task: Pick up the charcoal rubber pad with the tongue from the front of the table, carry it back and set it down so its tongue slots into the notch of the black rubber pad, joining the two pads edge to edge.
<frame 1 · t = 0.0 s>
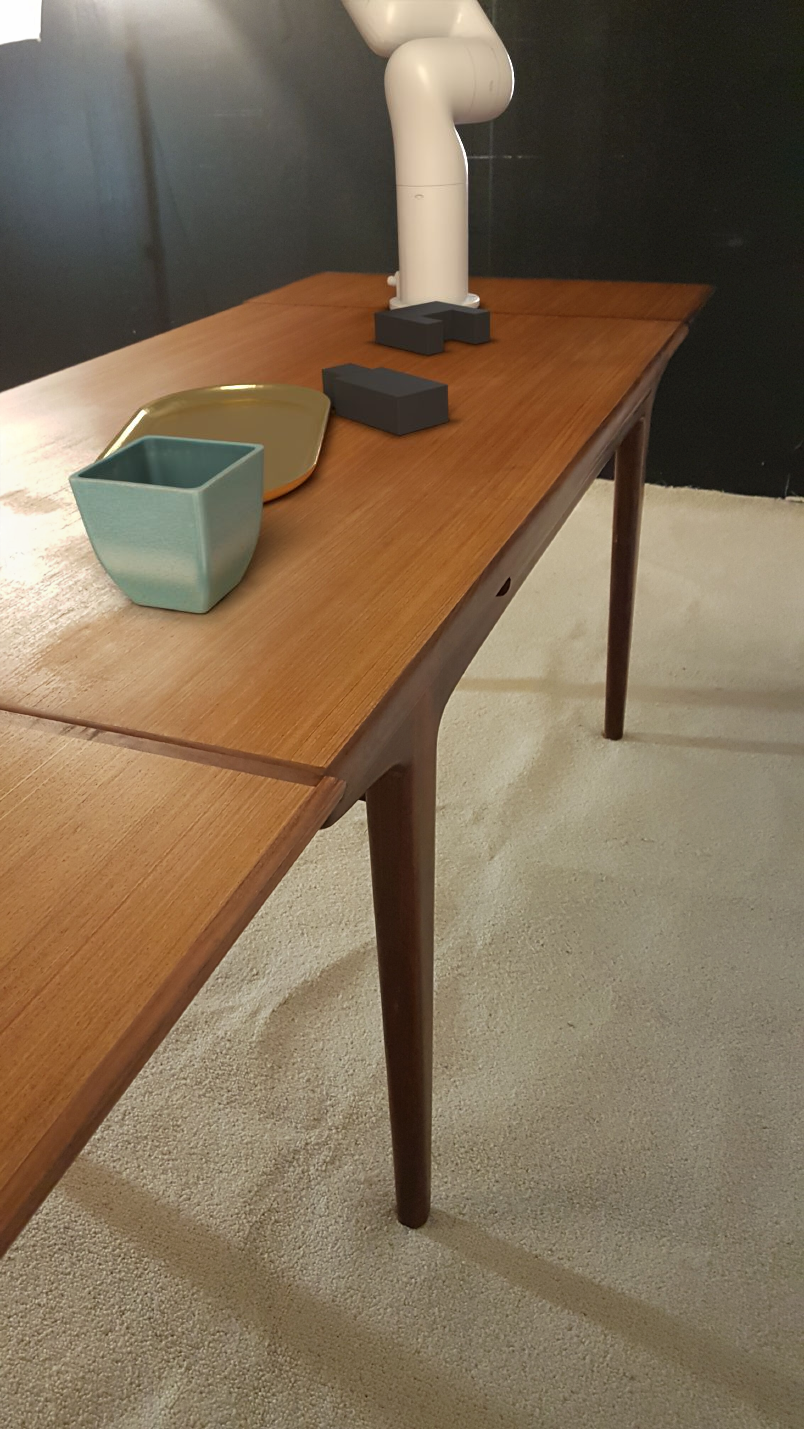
serving platter: (221, 452, 92), on the table
flower pot: (191, 598, 66), on the table
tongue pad: (390, 418, 98), on the table
notch pad: (432, 341, 126), on the table
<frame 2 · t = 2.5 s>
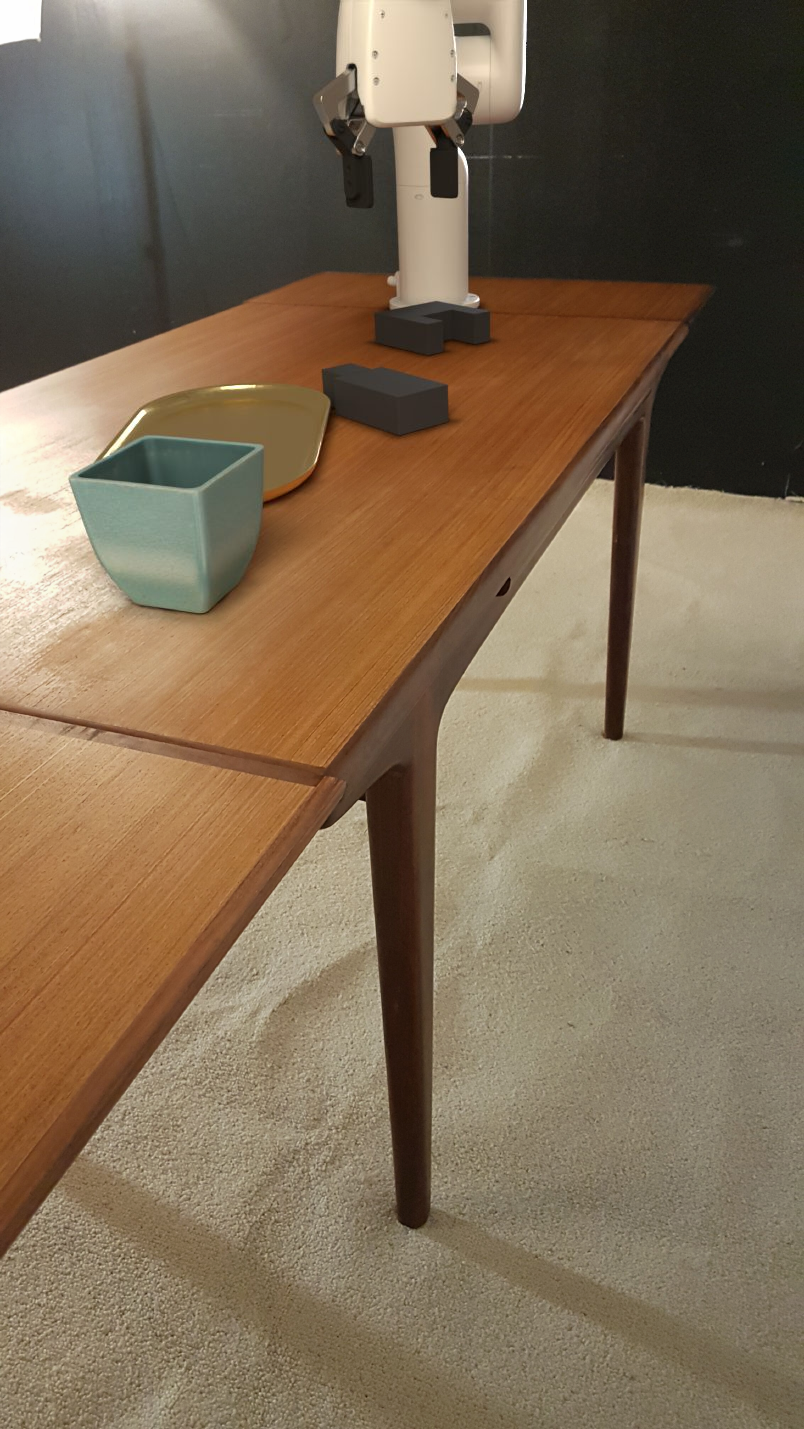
hand: (403, 202, 91), 18 cm above the table, tool pointing down, fingers open, 9 cm apart
nothing on the table moved.
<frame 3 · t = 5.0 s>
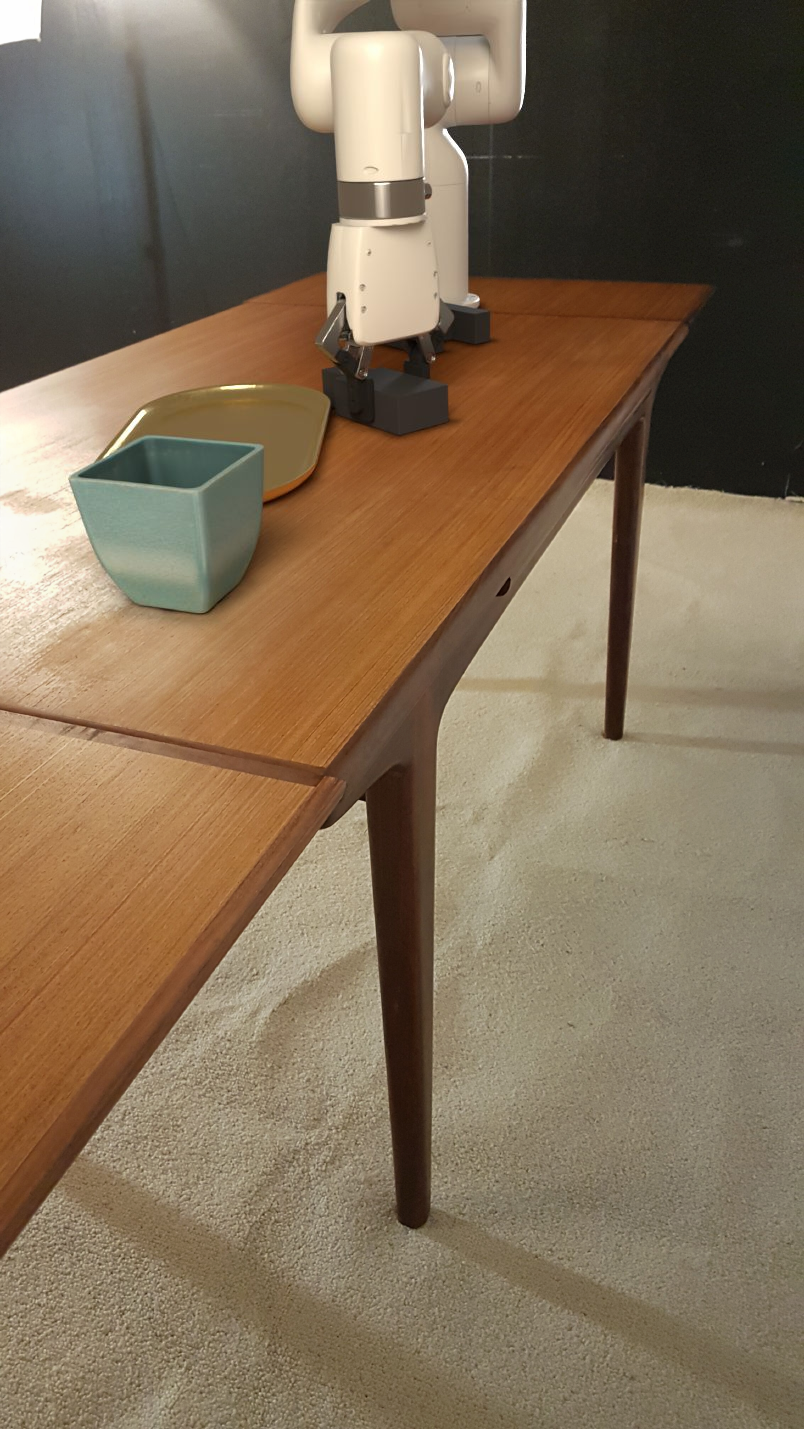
hand: (390, 409, 98), 1 cm above the table, tool pointing down, fingers closed on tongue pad, 6 cm apart
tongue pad: (390, 418, 98), on the table, touching gripper
everything else where it was.
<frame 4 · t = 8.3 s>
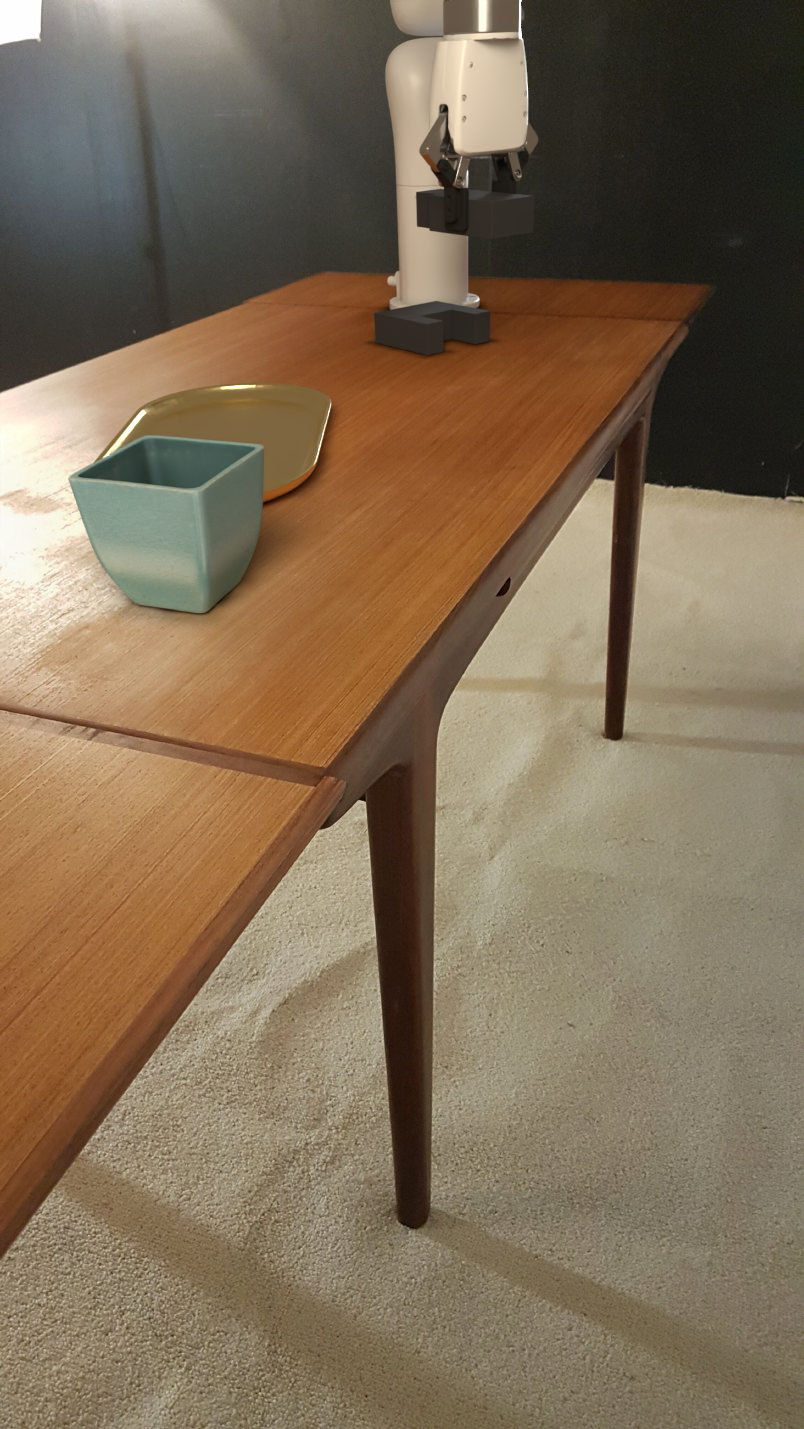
hand: (480, 223, 109), 14 cm above the table, tool pointing down, fingers closed on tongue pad, 6 cm apart
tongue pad: (480, 231, 110), point 13 cm above the table, touching gripper
everything else where it was.
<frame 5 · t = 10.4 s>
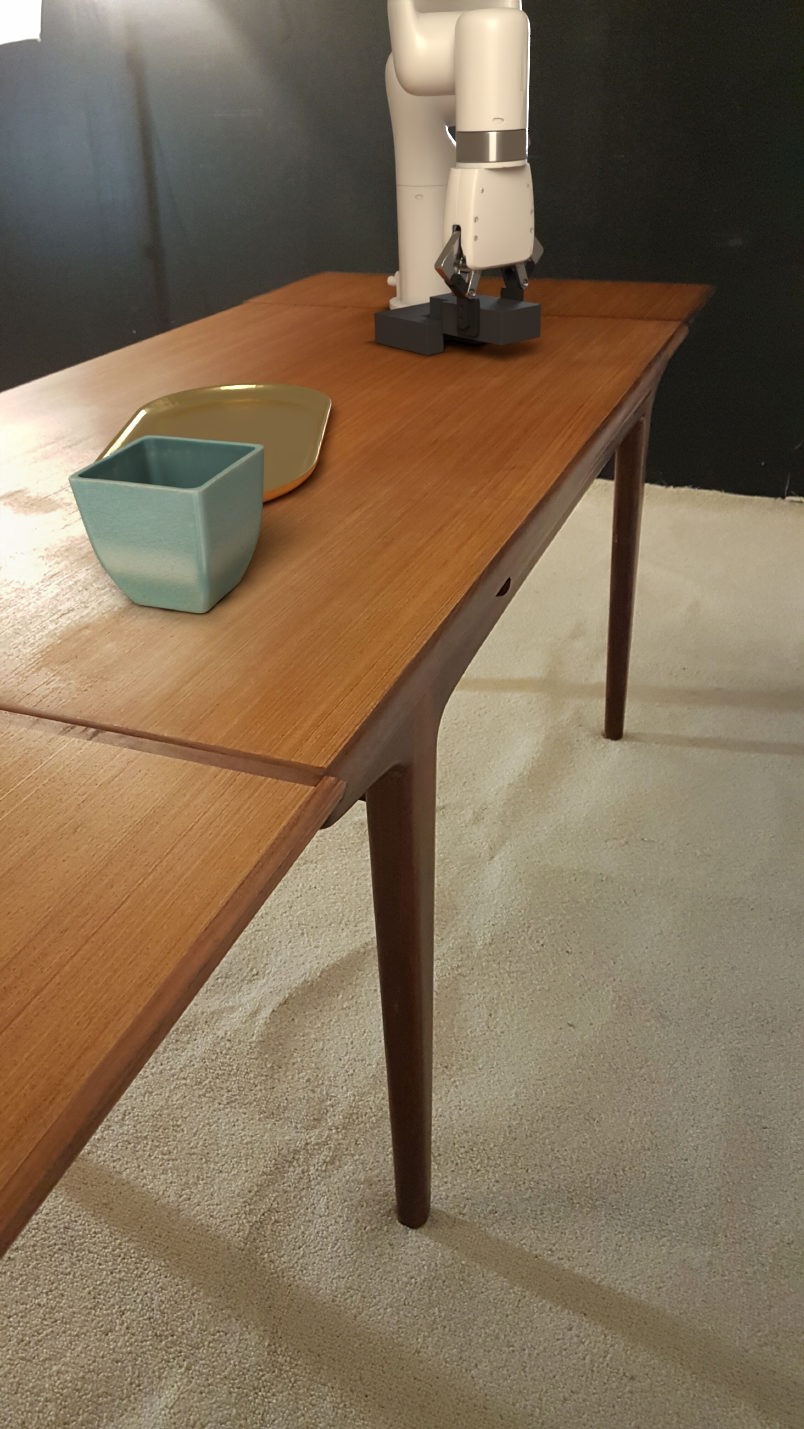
hand: (490, 328, 117), 3 cm above the table, tool pointing down, fingers closed on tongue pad, 6 cm apart
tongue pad: (490, 335, 117), point 2 cm above the table, touching gripper
everything else where it was.
when the fingers open (1 cm above the table, at t = 11.6 s): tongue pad stays where it is, on the table.
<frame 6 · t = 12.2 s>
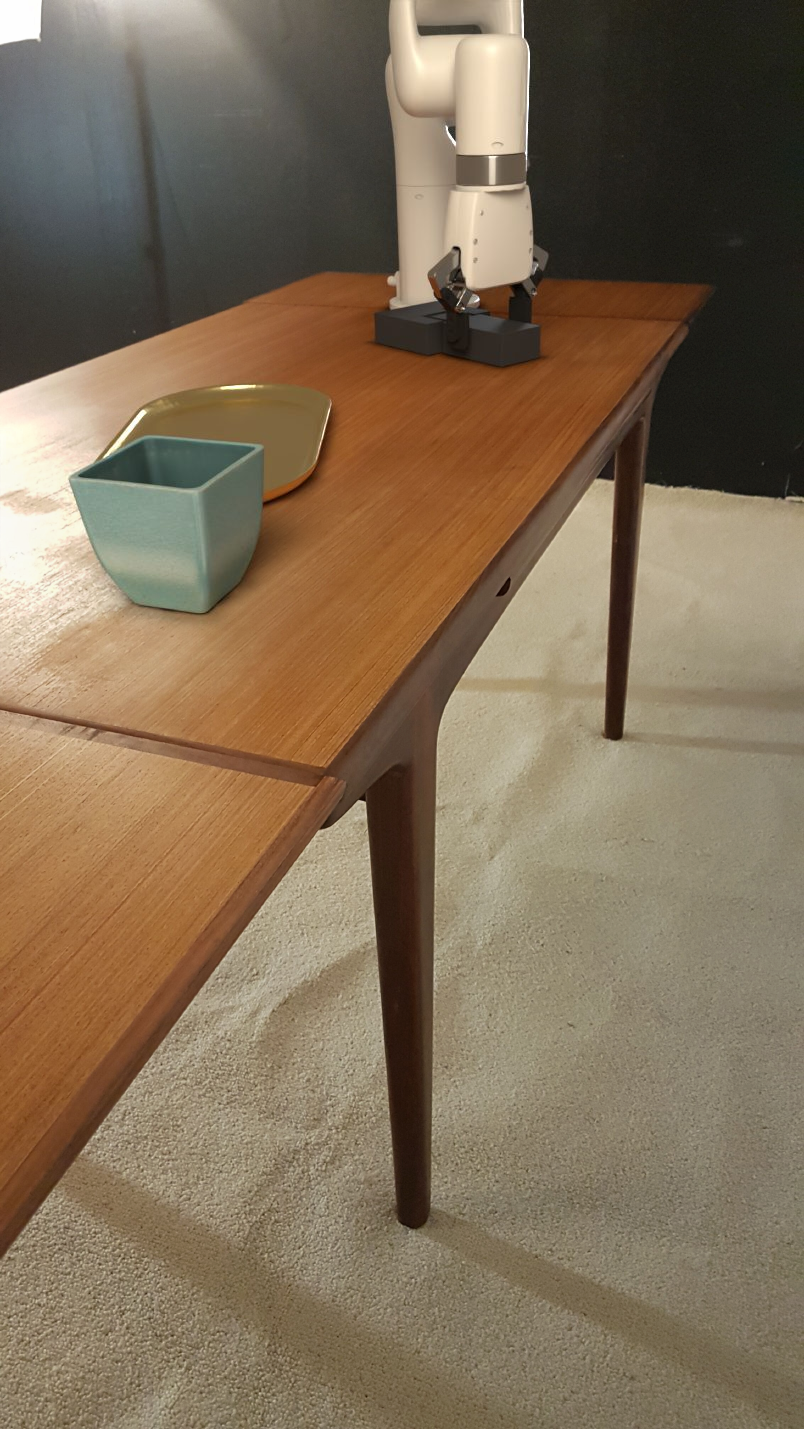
hand: (489, 340, 118), 2 cm above the table, tool pointing down, fingers open, 9 cm apart
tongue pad: (490, 355, 119), on the table
everything else where it was.
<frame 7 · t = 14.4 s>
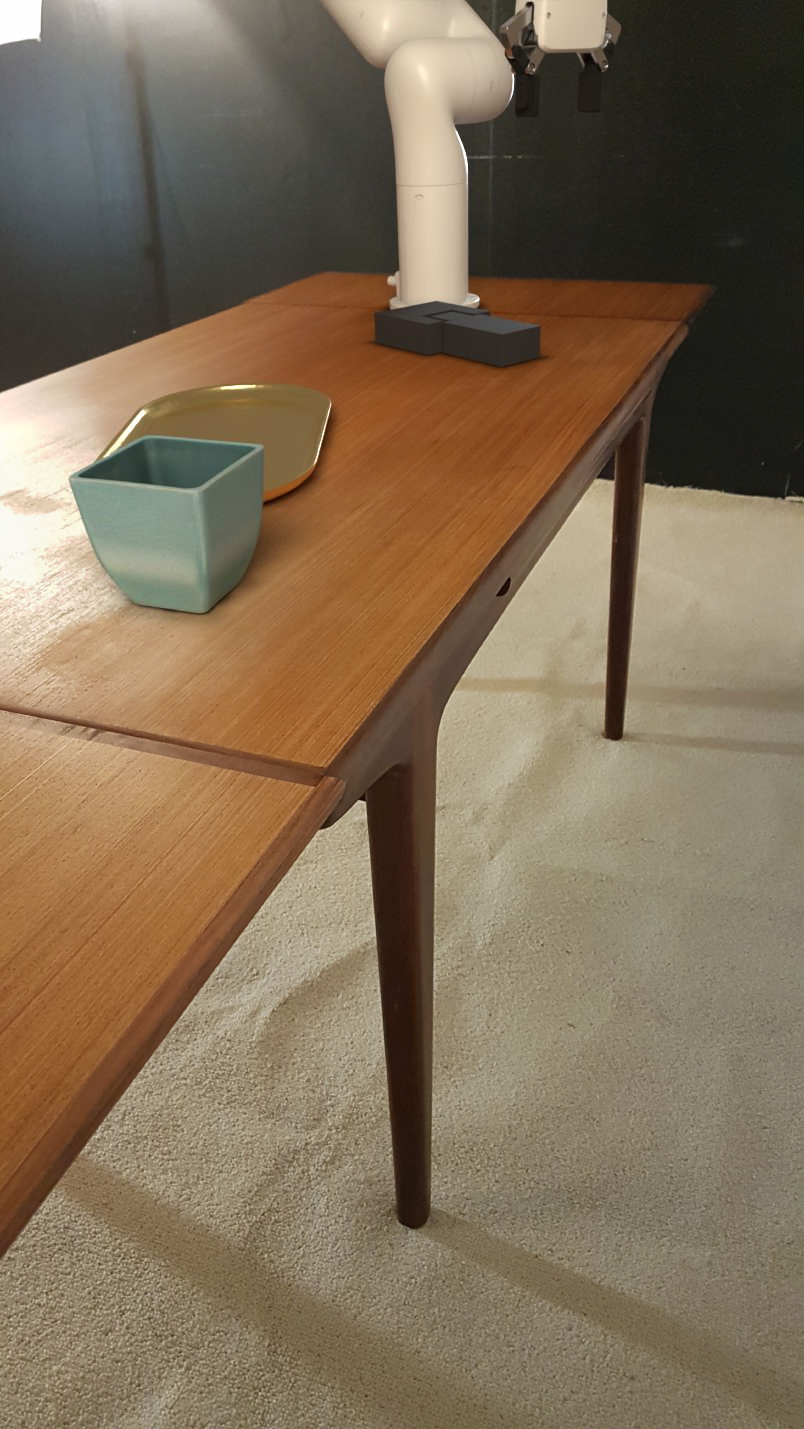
hand: (558, 114, 116), 23 cm above the table, tool pointing down, fingers open, 9 cm apart
nothing on the table moved.
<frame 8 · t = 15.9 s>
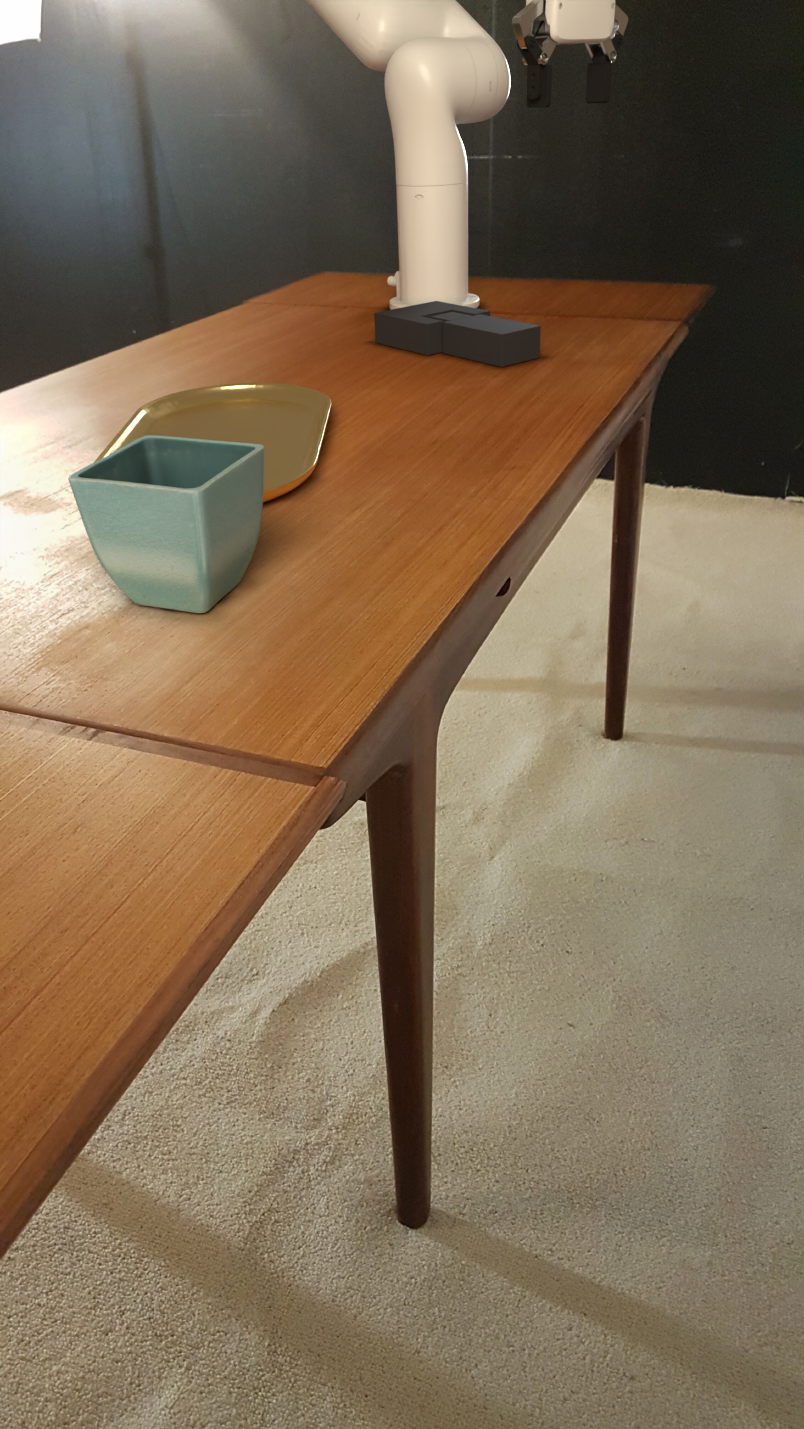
hand: (568, 105, 117), 24 cm above the table, tool pointing down, fingers open, 9 cm apart
nothing on the table moved.
at the end: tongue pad 0.3 cm from the target spot on the table beside the notch pad, on the table; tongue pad tilted 0°; the gripper is holding nothing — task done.
